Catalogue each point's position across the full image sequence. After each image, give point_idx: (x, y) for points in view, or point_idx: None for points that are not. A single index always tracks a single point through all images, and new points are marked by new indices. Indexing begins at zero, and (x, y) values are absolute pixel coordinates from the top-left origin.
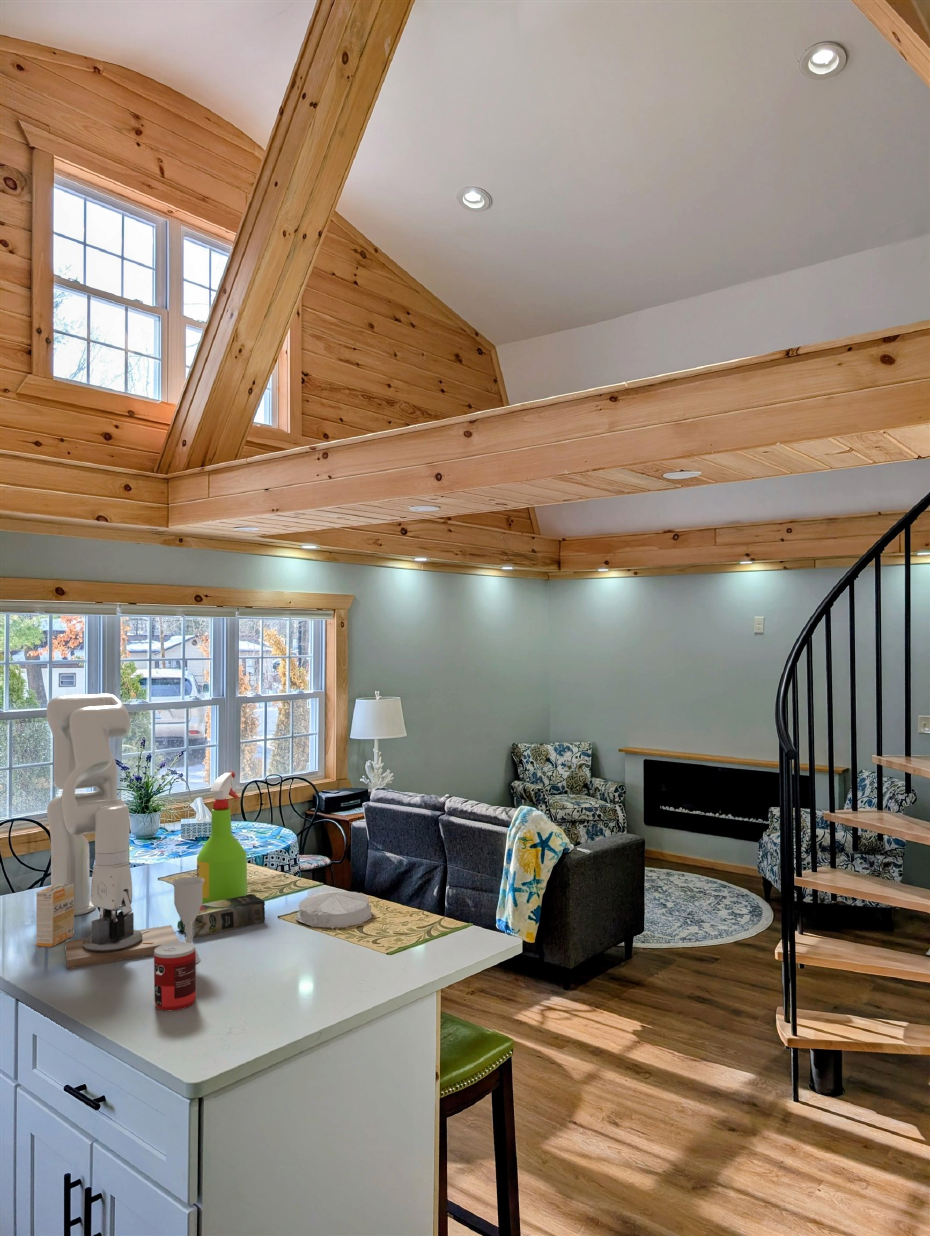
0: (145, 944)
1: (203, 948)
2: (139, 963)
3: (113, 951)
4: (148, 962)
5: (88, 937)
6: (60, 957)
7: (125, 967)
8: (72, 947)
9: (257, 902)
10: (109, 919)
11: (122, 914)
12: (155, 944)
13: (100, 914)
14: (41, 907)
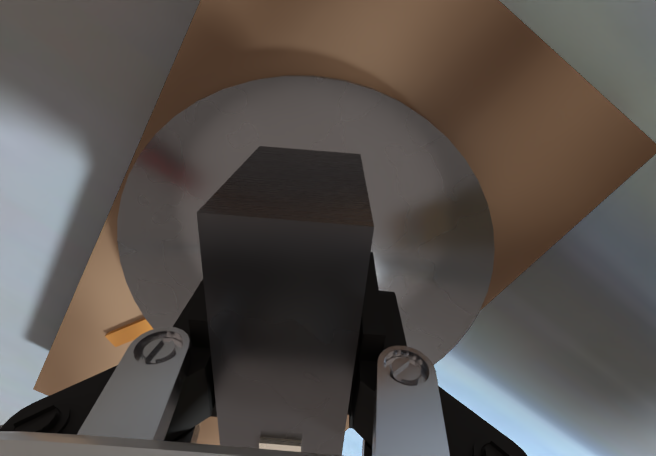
0: (126, 314)
1: (20, 403)
2: (29, 184)
3: None
4: (10, 214)
5: (480, 218)
6: (550, 19)
7: (19, 106)
8: (502, 78)
9: None
10: (224, 342)
11: (5, 427)
12: (85, 333)
13: (422, 387)
14: None
